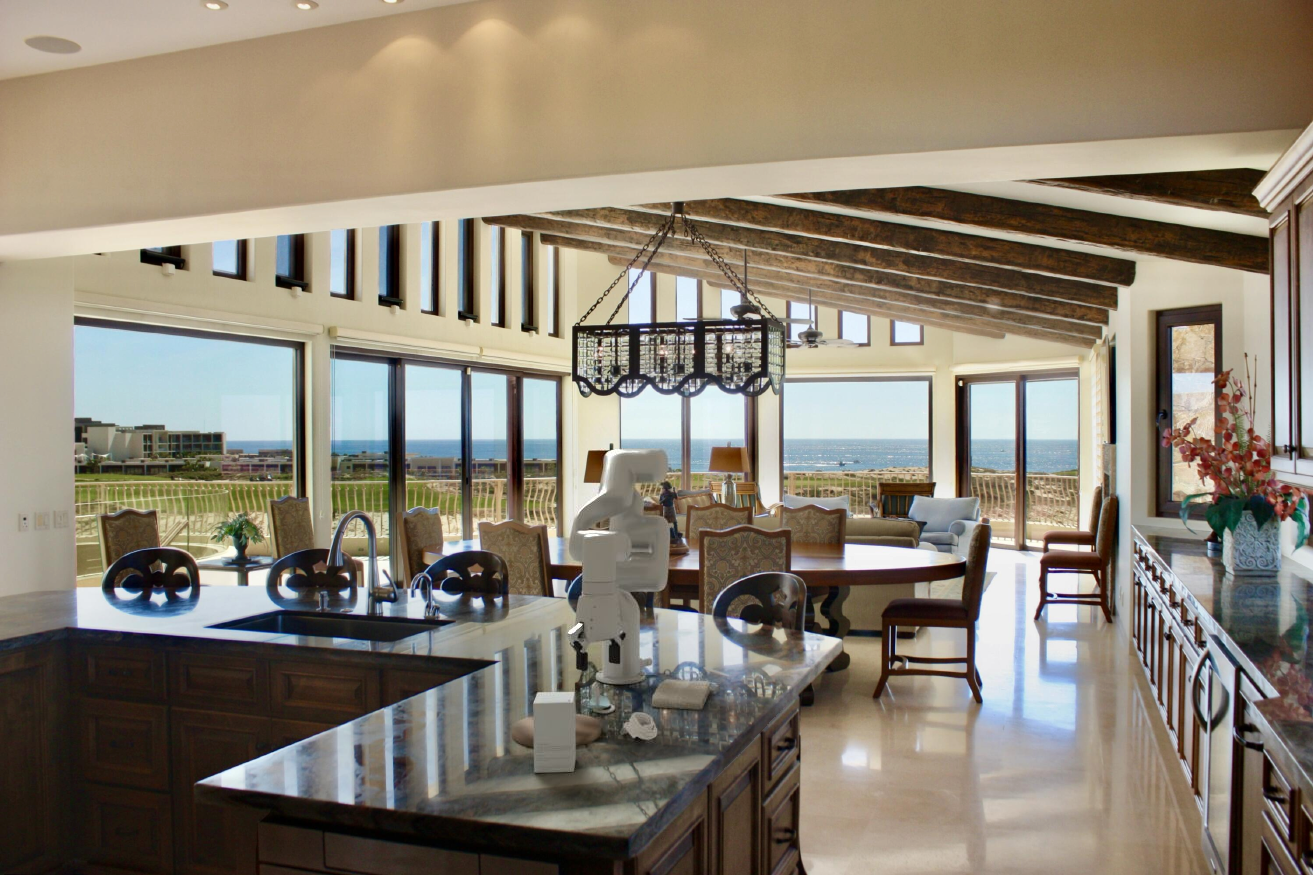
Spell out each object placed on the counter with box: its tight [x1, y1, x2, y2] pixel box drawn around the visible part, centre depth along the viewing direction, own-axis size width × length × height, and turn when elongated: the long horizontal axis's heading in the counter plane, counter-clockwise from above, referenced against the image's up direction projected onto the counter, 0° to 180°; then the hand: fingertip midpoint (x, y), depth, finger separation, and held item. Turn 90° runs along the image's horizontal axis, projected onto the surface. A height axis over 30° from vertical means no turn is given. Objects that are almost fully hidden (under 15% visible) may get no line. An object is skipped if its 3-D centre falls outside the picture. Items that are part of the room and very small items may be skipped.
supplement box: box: [532, 691, 577, 774], centre depth 161 cm, size 7×7×13 cm
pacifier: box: [586, 682, 616, 714], centre depth 196 cm, size 7×6×6 cm
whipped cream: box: [619, 711, 658, 741], centre depth 179 cm, size 8×7×5 cm
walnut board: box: [511, 713, 602, 748], centre depth 179 cm, size 18×18×2 cm
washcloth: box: [651, 678, 712, 711], centre depth 205 cm, size 12×18×3 cm, turn 170°
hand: (598, 666), depth 195 cm, fingers open, 9 cm apart
